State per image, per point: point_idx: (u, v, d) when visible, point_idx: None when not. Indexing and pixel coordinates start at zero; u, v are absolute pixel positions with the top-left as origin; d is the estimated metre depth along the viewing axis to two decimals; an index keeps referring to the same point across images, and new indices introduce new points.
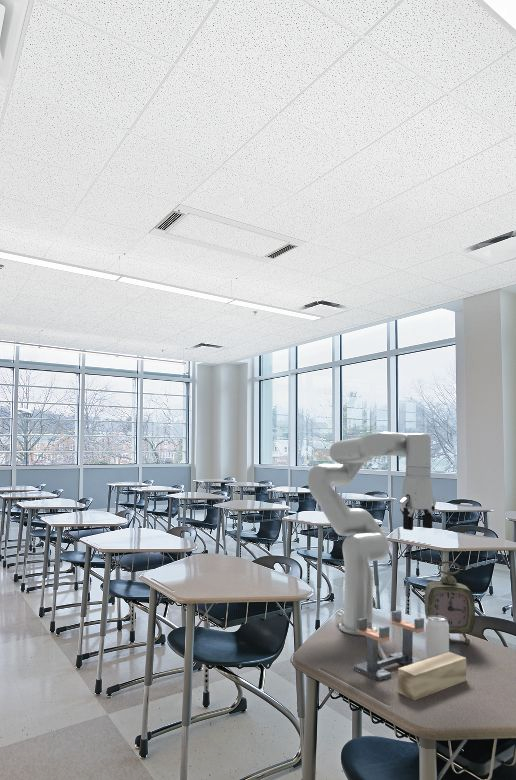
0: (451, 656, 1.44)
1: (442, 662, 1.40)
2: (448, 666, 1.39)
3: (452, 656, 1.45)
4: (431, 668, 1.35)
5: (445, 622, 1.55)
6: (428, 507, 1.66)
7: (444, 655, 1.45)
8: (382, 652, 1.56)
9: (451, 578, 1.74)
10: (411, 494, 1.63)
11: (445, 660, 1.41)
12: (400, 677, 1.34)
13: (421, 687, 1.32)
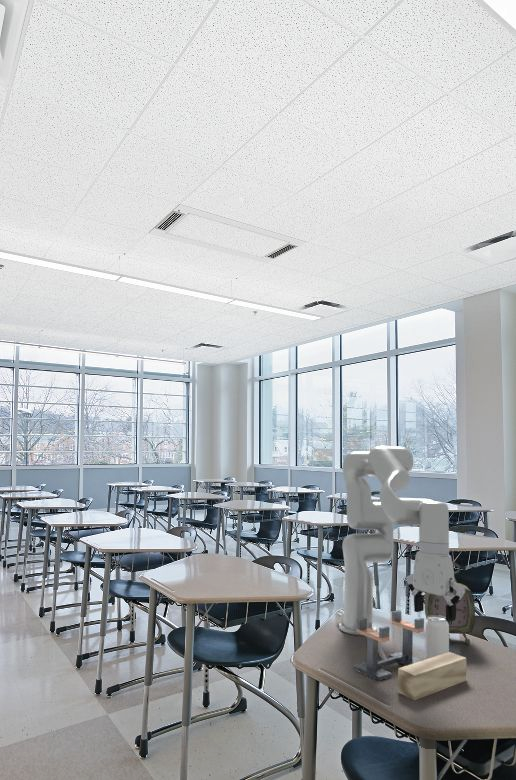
0: (451, 656, 1.44)
1: (442, 662, 1.40)
2: (448, 666, 1.39)
3: (452, 656, 1.45)
4: (431, 668, 1.35)
5: (445, 622, 1.55)
6: None
7: (444, 655, 1.45)
8: (382, 652, 1.56)
9: None
10: (453, 577, 1.38)
11: (445, 660, 1.41)
12: (400, 677, 1.34)
13: (421, 687, 1.32)
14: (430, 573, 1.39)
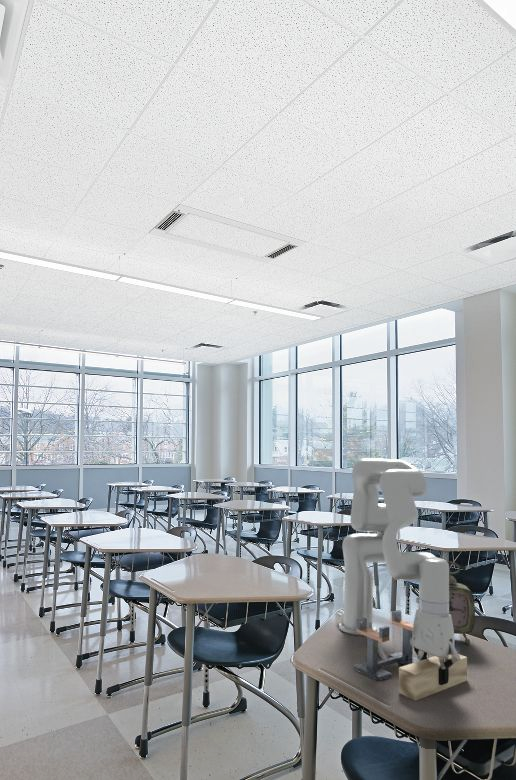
0: None
1: None
2: None
3: None
4: (431, 667, 1.35)
5: None
6: None
7: None
8: (382, 652, 1.56)
9: (451, 578, 1.74)
10: (453, 637, 1.37)
11: None
12: (401, 676, 1.34)
13: (422, 686, 1.32)
14: (430, 633, 1.38)
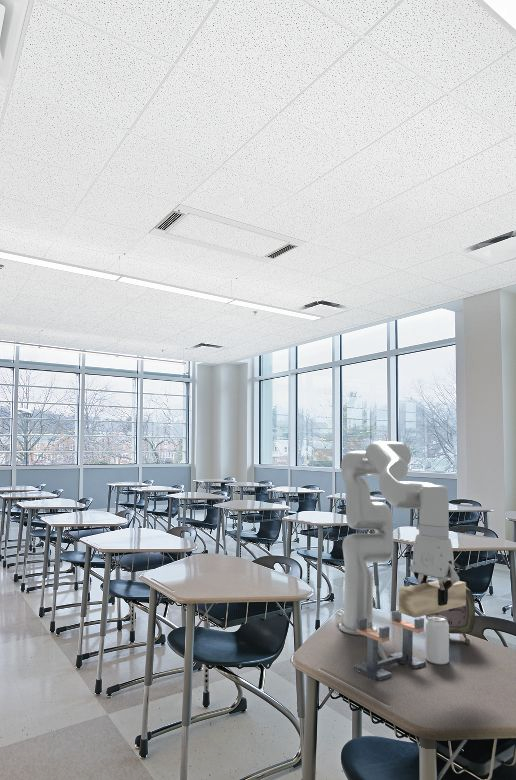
0: None
1: None
2: None
3: None
4: (431, 588, 1.38)
5: (445, 622, 1.55)
6: None
7: None
8: (382, 652, 1.56)
9: None
10: (452, 559, 1.39)
11: None
12: (401, 596, 1.36)
13: (421, 605, 1.34)
14: (429, 556, 1.40)
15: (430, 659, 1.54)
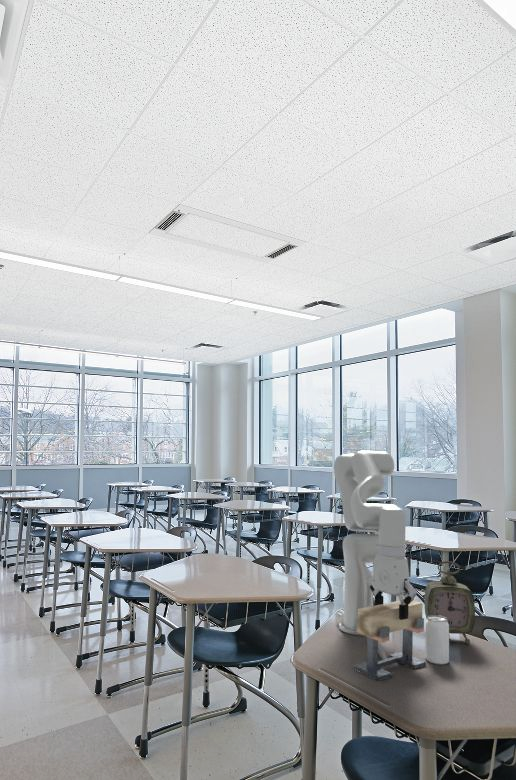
0: None
1: None
2: None
3: None
4: (387, 609, 1.48)
5: (445, 622, 1.55)
6: None
7: None
8: (383, 652, 1.56)
9: (451, 578, 1.74)
10: (408, 577, 1.49)
11: None
12: (359, 617, 1.46)
13: (378, 625, 1.44)
14: (387, 574, 1.50)
15: (430, 659, 1.54)
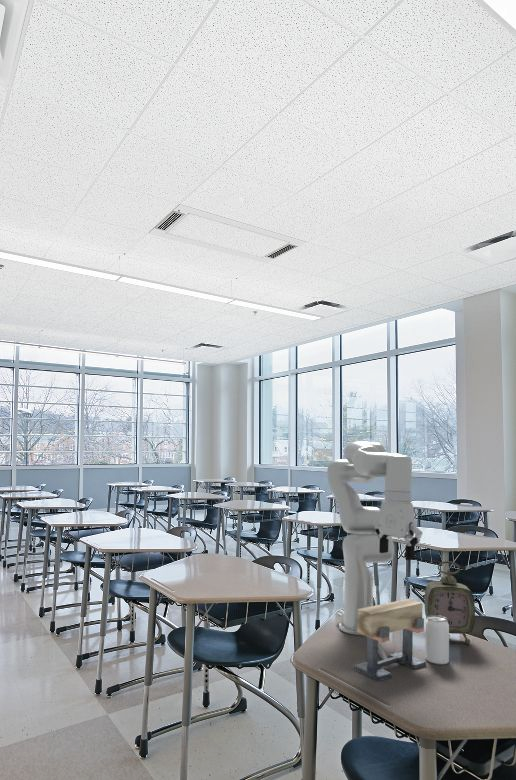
0: (409, 601, 1.57)
1: (399, 605, 1.52)
2: (405, 608, 1.51)
3: (410, 601, 1.57)
4: (387, 609, 1.48)
5: (445, 622, 1.55)
6: None
7: (402, 601, 1.57)
8: (383, 652, 1.56)
9: (451, 578, 1.74)
10: (413, 521, 1.54)
11: (402, 604, 1.54)
12: (359, 617, 1.46)
13: (378, 625, 1.44)
14: (393, 518, 1.55)
15: (430, 659, 1.54)
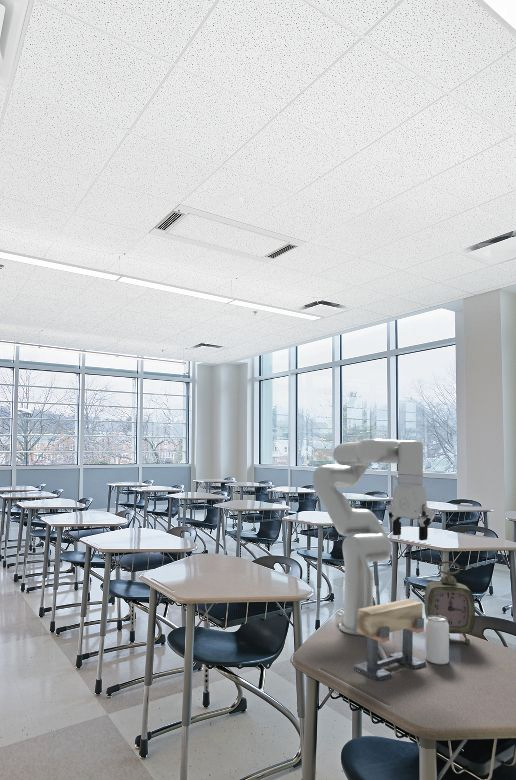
0: (409, 601, 1.57)
1: (399, 605, 1.52)
2: (405, 608, 1.51)
3: (410, 601, 1.57)
4: (387, 609, 1.48)
5: (445, 622, 1.55)
6: None
7: (402, 601, 1.57)
8: (383, 652, 1.56)
9: (451, 578, 1.74)
10: (426, 503, 1.61)
11: (402, 604, 1.54)
12: (359, 617, 1.46)
13: (378, 625, 1.44)
14: (406, 500, 1.62)
15: (430, 659, 1.54)
